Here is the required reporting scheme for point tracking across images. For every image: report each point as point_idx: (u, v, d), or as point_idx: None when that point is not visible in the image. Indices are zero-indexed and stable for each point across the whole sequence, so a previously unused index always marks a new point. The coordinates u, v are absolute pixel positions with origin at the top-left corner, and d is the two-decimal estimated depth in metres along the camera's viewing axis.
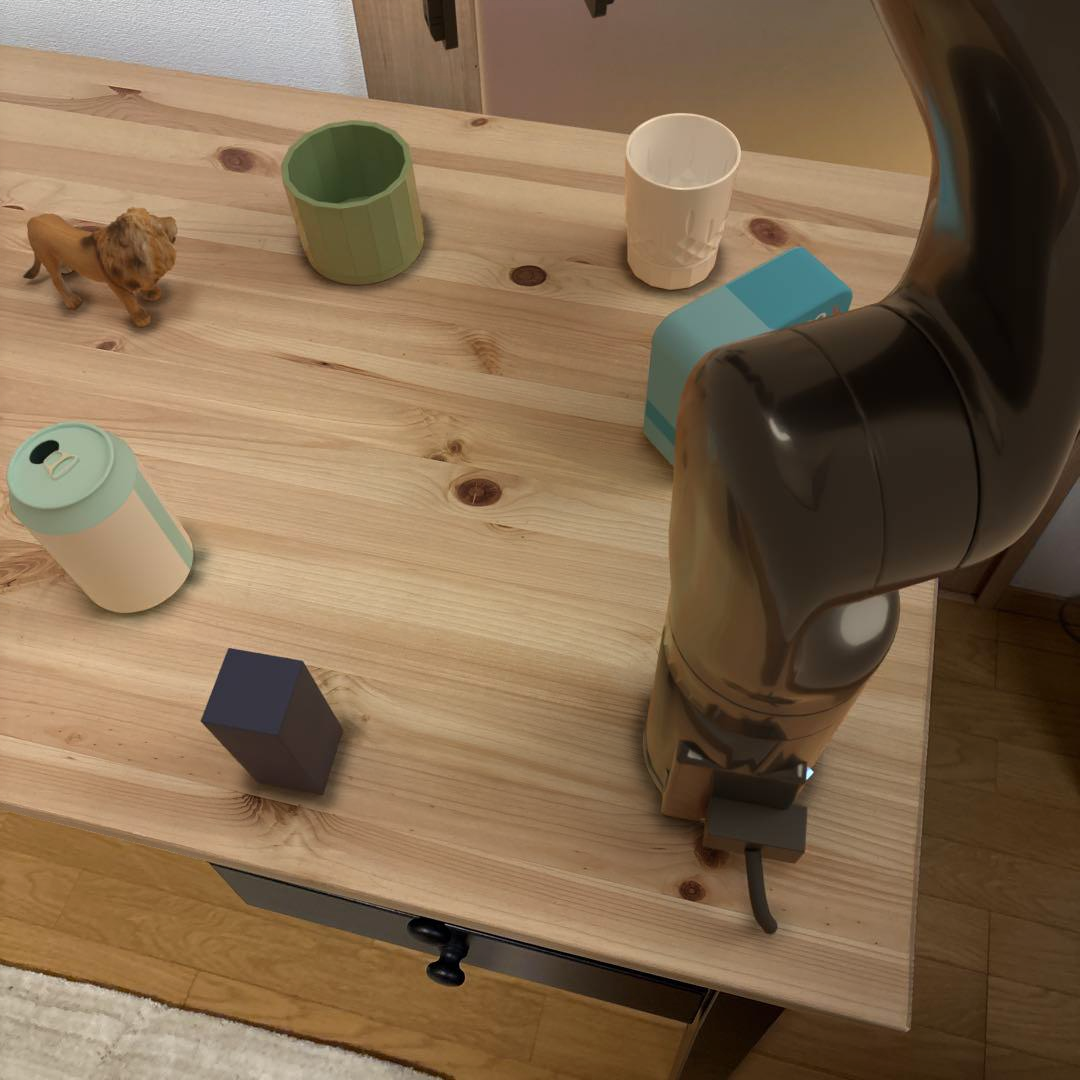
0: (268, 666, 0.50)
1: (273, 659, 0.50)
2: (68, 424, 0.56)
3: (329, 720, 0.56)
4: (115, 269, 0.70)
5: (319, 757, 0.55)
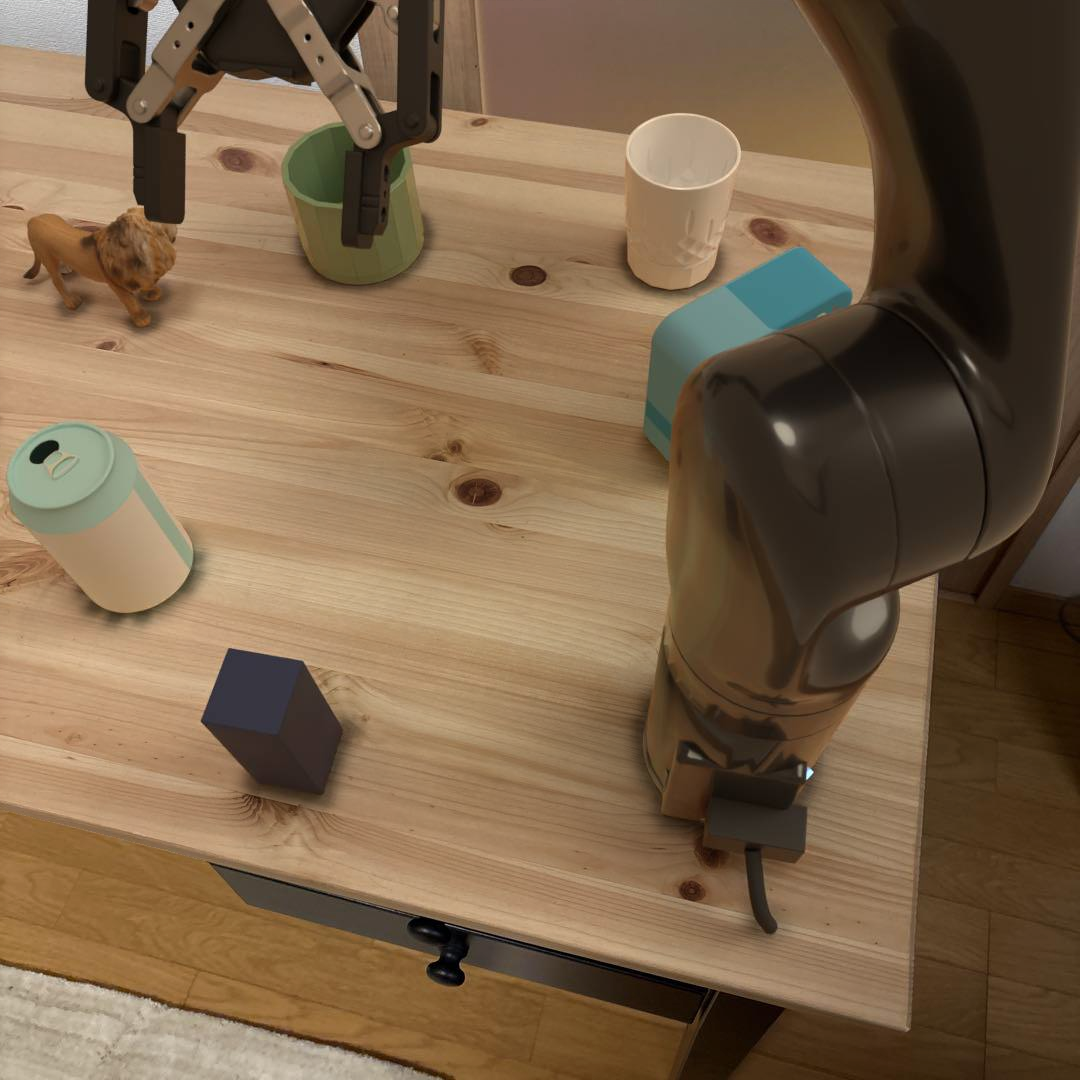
0: (268, 666, 0.50)
1: (273, 659, 0.50)
2: (68, 424, 0.56)
3: (329, 720, 0.56)
4: (115, 269, 0.70)
5: (319, 757, 0.55)
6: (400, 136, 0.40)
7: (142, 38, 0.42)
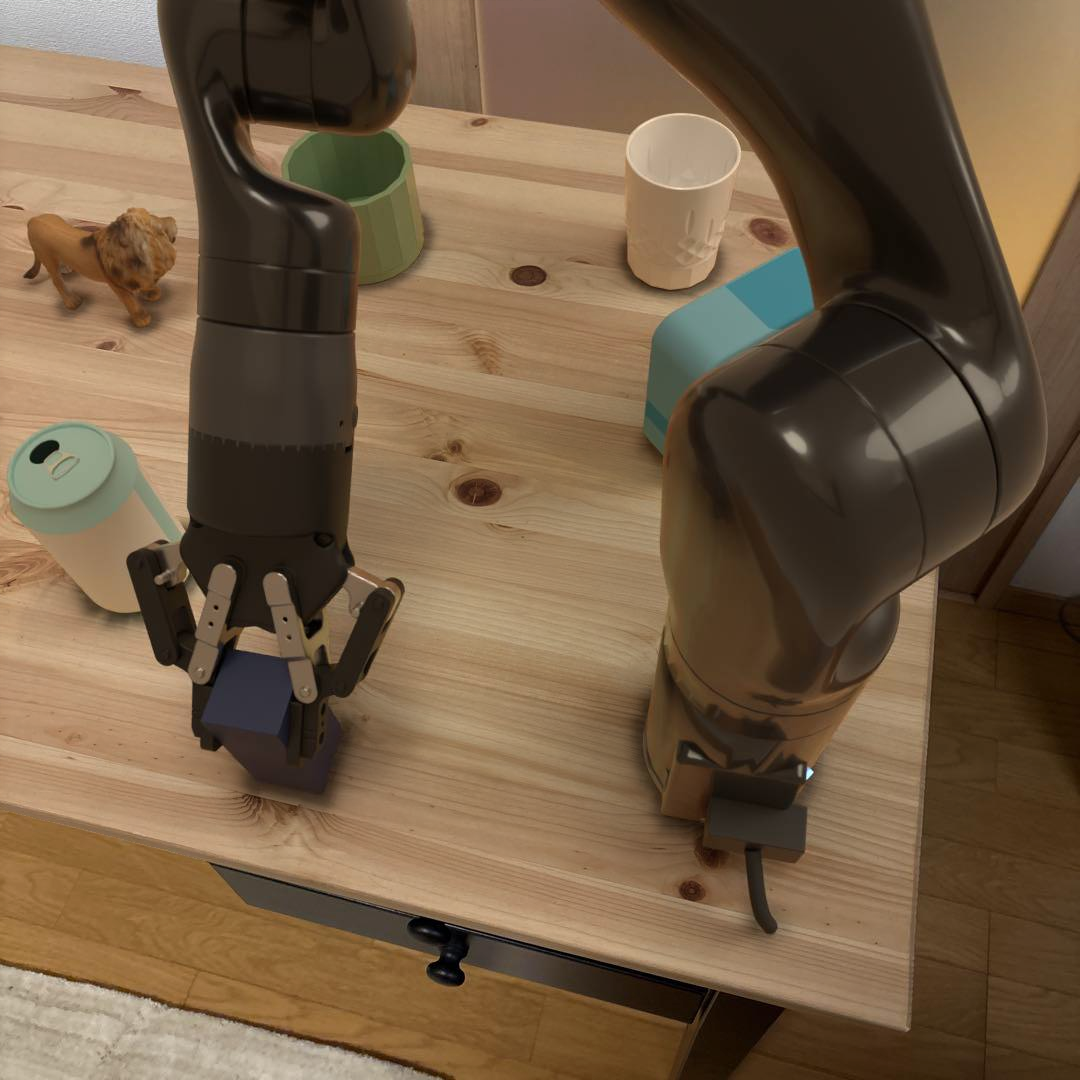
0: (268, 666, 0.50)
1: (273, 659, 0.50)
2: (68, 424, 0.56)
3: (329, 720, 0.56)
4: (115, 269, 0.70)
5: (319, 758, 0.55)
6: None
7: (184, 597, 0.51)
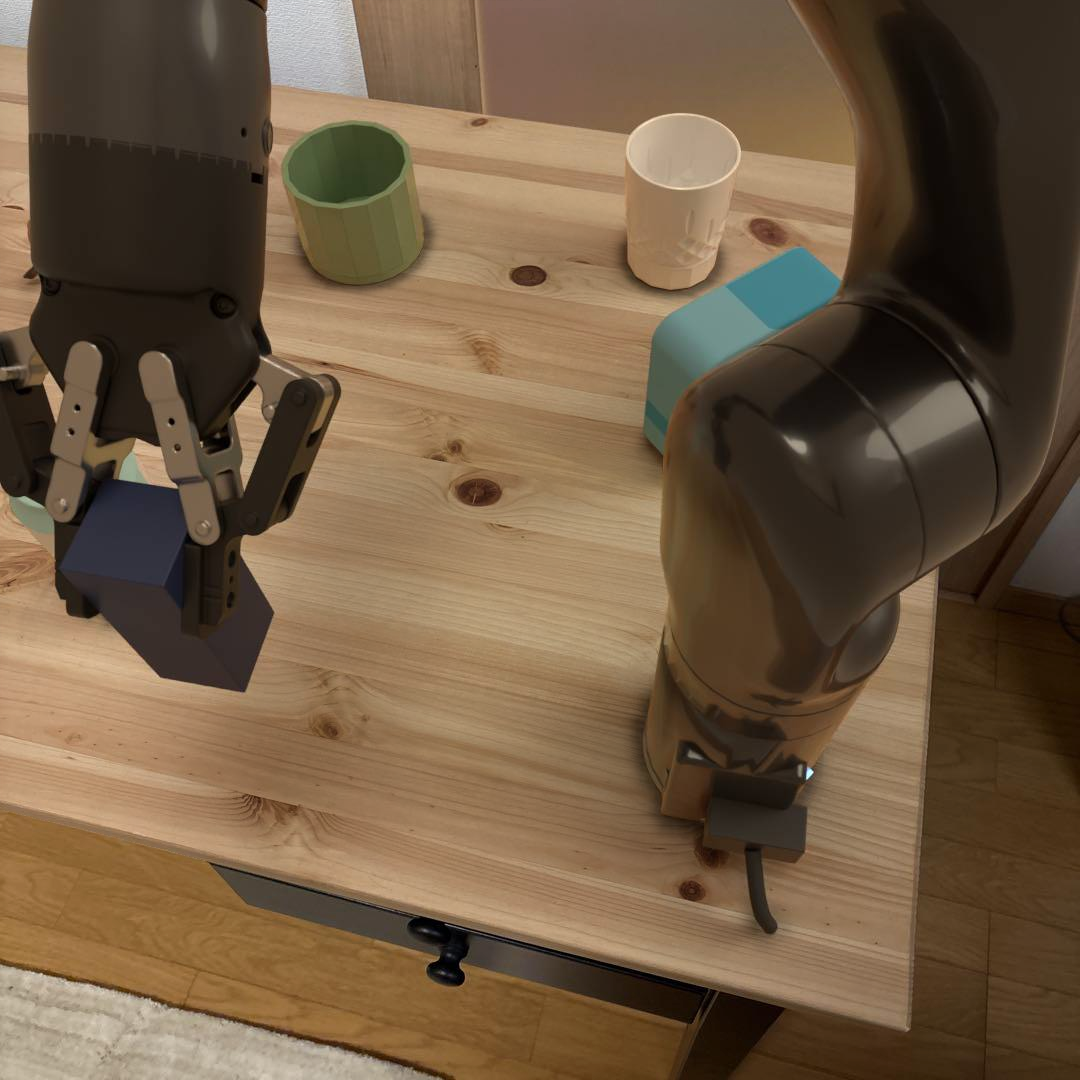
0: (157, 499, 0.37)
1: (164, 491, 0.37)
2: None
3: (252, 593, 0.43)
4: None
5: (237, 640, 0.42)
6: None
7: (46, 411, 0.38)
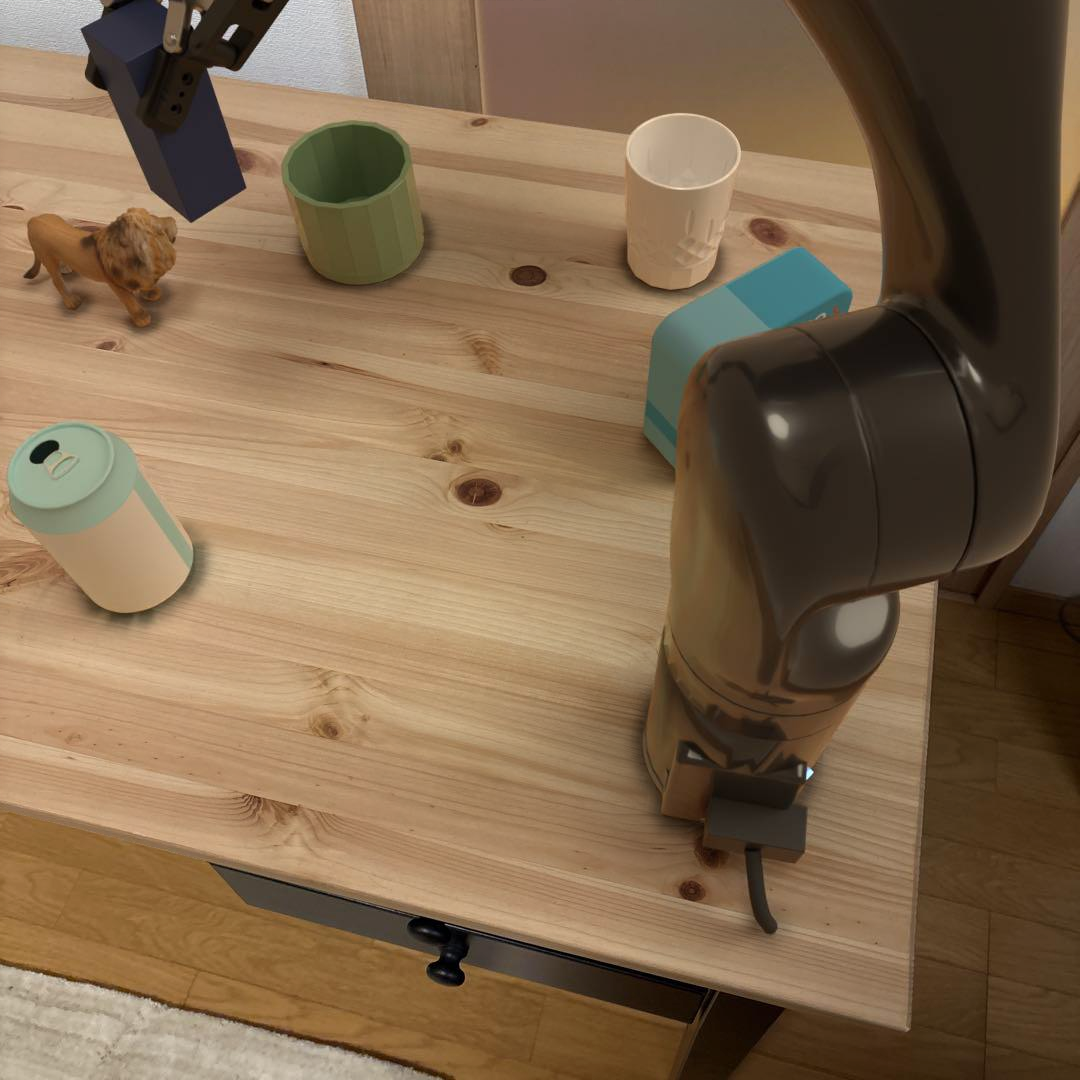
0: (164, 17, 0.50)
1: None
2: (68, 424, 0.56)
3: (224, 150, 0.55)
4: (115, 269, 0.70)
5: (194, 172, 0.55)
6: None
7: None
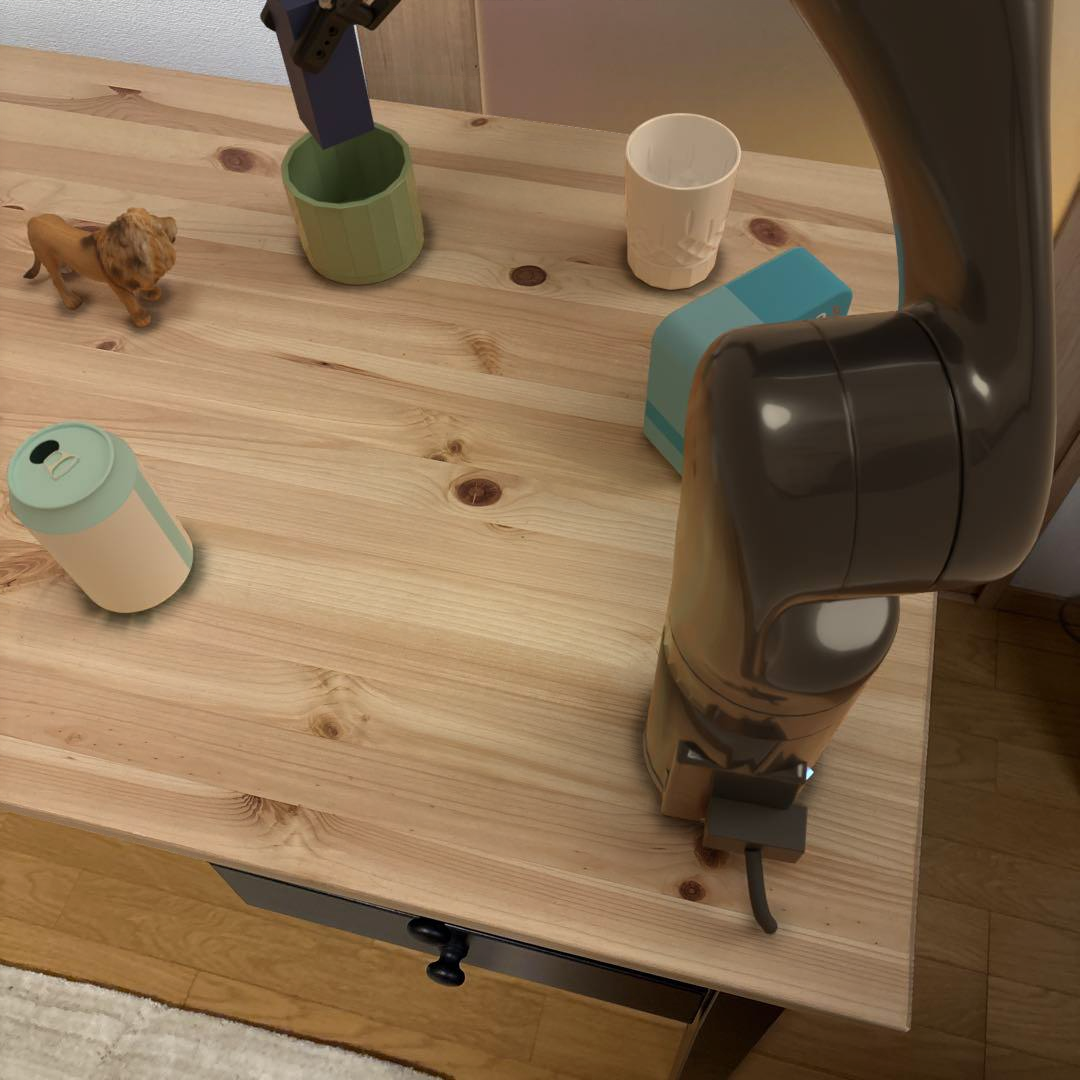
0: None
1: None
2: (68, 424, 0.56)
3: (359, 94, 0.67)
4: (115, 269, 0.70)
5: (331, 108, 0.66)
6: None
7: None
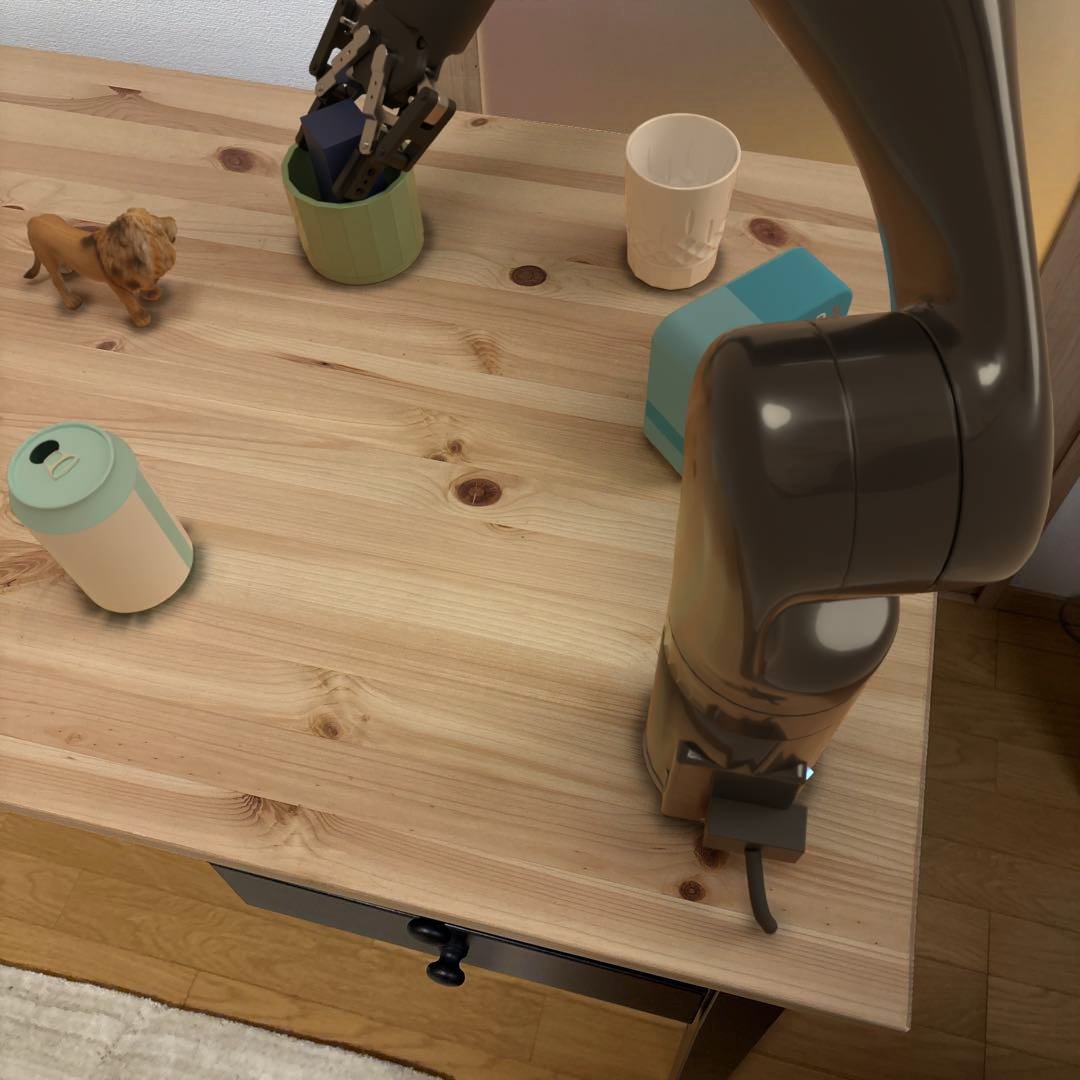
0: (357, 118, 0.70)
1: (363, 117, 0.70)
2: (68, 424, 0.56)
3: None
4: (115, 269, 0.70)
5: None
6: None
7: None
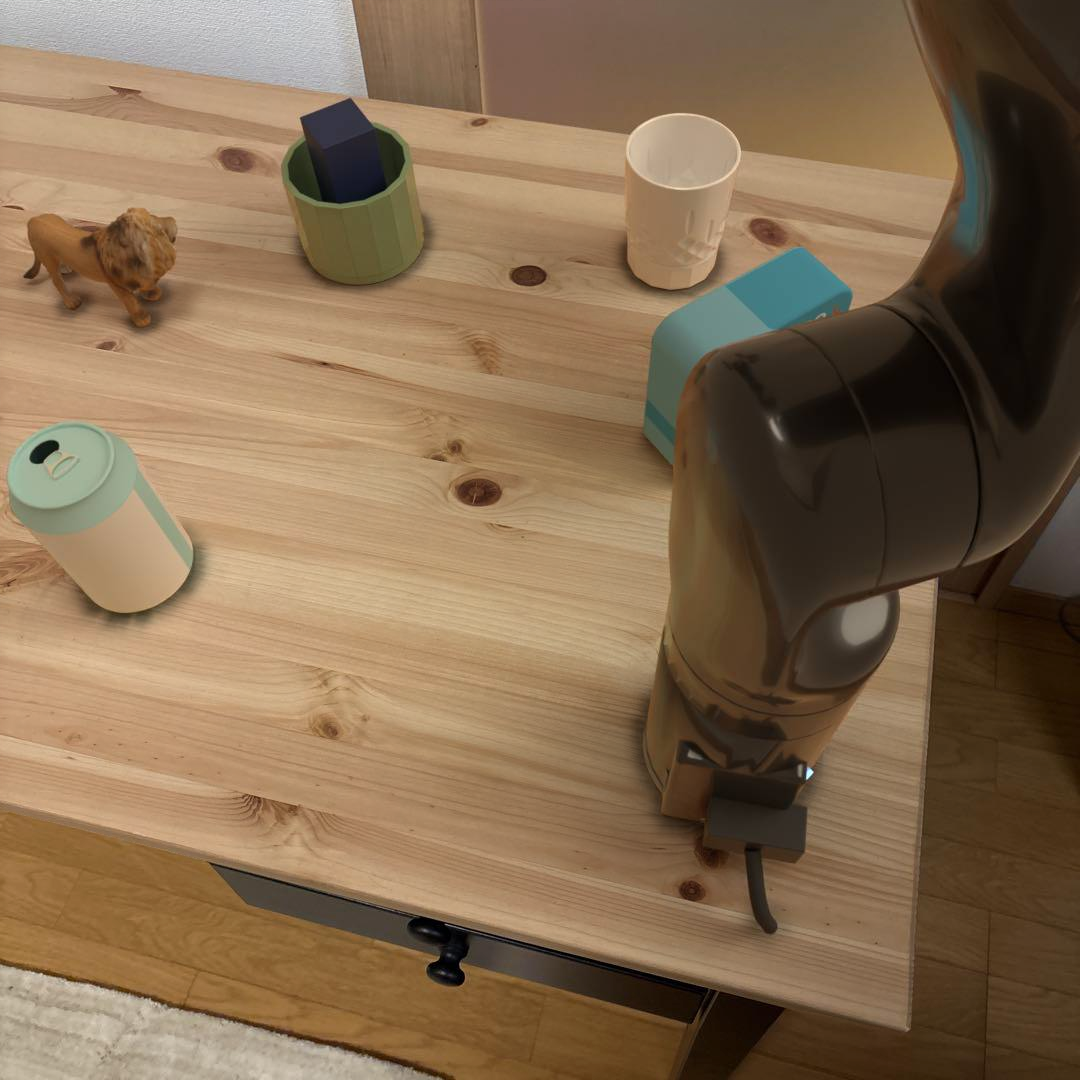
0: (357, 118, 0.70)
1: (363, 117, 0.70)
2: (68, 424, 0.56)
3: None
4: (115, 269, 0.70)
5: None
6: None
7: None
